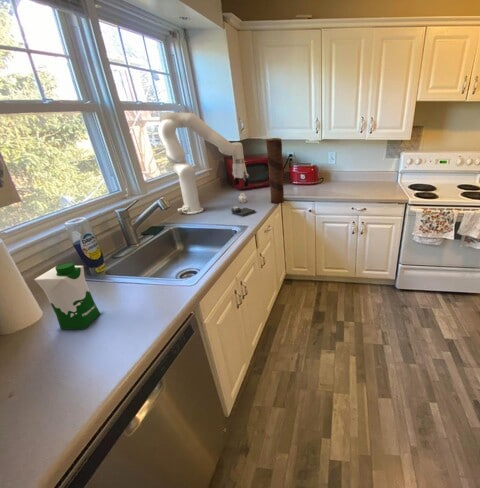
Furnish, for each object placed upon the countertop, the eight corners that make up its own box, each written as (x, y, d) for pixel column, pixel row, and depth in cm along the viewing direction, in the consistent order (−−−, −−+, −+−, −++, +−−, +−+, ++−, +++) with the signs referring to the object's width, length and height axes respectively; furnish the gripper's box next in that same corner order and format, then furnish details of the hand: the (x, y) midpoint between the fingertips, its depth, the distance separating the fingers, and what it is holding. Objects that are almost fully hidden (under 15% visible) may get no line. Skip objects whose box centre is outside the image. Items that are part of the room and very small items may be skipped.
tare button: (235, 210, 181) (235, 208, 181) (232, 209, 183) (232, 207, 182) (239, 209, 184) (238, 207, 183) (236, 208, 185) (235, 206, 184)
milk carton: (86, 330, 84) (60, 273, 76) (54, 331, 83) (25, 274, 75) (105, 312, 92) (84, 258, 83) (76, 312, 91) (52, 258, 83)
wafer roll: (281, 204, 204) (277, 139, 185) (268, 203, 207) (263, 138, 188) (287, 200, 213) (284, 137, 194) (274, 199, 216) (270, 137, 197)
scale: (241, 217, 178) (241, 212, 177) (230, 213, 184) (229, 209, 182) (255, 212, 187) (255, 207, 186) (244, 209, 193) (243, 204, 191)
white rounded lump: (239, 201, 210) (238, 192, 207) (248, 201, 211) (247, 192, 208) (238, 203, 205) (237, 194, 202) (246, 203, 205) (245, 194, 202)
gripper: (226, 160, 197) (229, 184, 204) (242, 163, 188) (245, 188, 196) (234, 159, 203) (238, 182, 210) (251, 161, 194) (254, 186, 201)
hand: (241, 185), depth 203 cm, fingers open, 9 cm apart
